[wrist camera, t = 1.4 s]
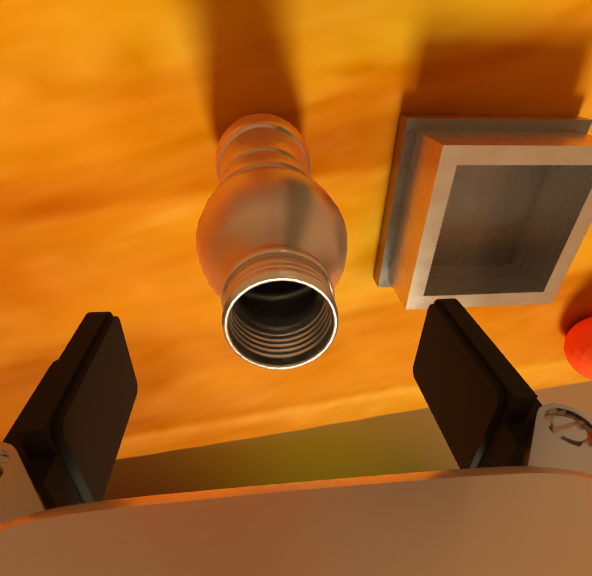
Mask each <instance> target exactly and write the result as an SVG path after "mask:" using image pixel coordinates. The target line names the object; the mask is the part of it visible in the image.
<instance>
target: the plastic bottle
mask: <svg viewBox="0 0 592 576" xmlns="http://www.w3.org/2000/svg"><path fill="white" fill-rule="evenodd" d="M216 169H217V175H218V180H219V183H220V184H219V186H218V187H217V189H216V190H215V191H214V193H213V194H212V195H211V197H210V198H209V199H208V201H207V204H206V206H205V208H204V210H203V213H202V215H201V217H200V219H199V223H198V228H197V233H196V248H197V253H198V257H199V261H200V264H201V267H202V270H203V272H204V274H205V276H206V278H207V281H208V283H209V284H210V286H211V287H212V288H213V290H214V291H215V292H216V294H217V295H218V296H219V297H220V298H222V307H223V314H222V326H223V331H224V335H225V338H226V340H227V342H228V344H229V346H230V347H231V349H232V350H233V351H234V352H235V353H236V354H237V355H238V356H239V357H241V358H242V359H243V360H245V361H247V362H249V363H250V364H253V365H255V366H258V367H261V368H267V369H275V370H284V369H292V368H296V367H300V366H303V365H305V364H308V363H310V362H312V361H313V360H315V359H317V358H318V357H320V356H321V355H322V354H323V353H324V352H325V351H326V350H327V349H328V348H329V346H330V345H331V344H332V342H333V340H334V338H335V336H336V333H337V329H338V311H337V307H336V303H335V300H334V288H335V287H336V285H337V284H338V282H339V280H340V278H341V275H342V273H343V270H344V266H345V261H346V254H347V232H346V227H345V223H344V220H343V218H342V215H341V213H340V211H339V209H338V207H337V206H336V205H335V203H334V202H333V200H332V199H331V198H330V196H329V195H328V193H327V192H326V191H325V190H324V189H323V188H322V187H321V186H320V185H319V184H318V183H317V182H316V181H314V180H313V179H312V178H311V164H310V155H309V151H308V147H307V145H306V143H305V140H304V138H303V137H302V136H301V134H300V133H299V131H298V130H297V129H296V128H295V127H294V126H293V125H292V124H291V123H289V122H288V121H286V120H285V119H283V118H281V117H278V116H276V115H273V114H267V113H253V114H249V115H246V116H243V117H241V118H239V119H238V120H236V121H234V122H233V123H232V124H231V125H230V126H229V127H228V128H227V129H226V130H225V132H224V133H223V135H222V136H221V138H220V141H219V143H218V146H217V151H216Z"/></svg>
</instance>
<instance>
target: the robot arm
mask: <svg viewBox="0 0 592 576" xmlns="http://www.w3.org/2000/svg"><path fill="white" fill-rule="evenodd" d="M413 374H414V378H415V380H416V382H417V384H418V386H419V388H420V390H421V392H422V394H423V396H424V398H425V400H426V402H427V404H428V406H429V408H430V410H431V412H432V414H433V416H434V417H435V420H436V422H437V424H438V426H439V428H440V430H441V432H442V434H443V436H444V438H445V440H446V442H447V444H448V446H449V448H450V450H451V452H452V454H453V455H454V458H455V460H456V461H457V463H458V466H459V468H460V469H456V470H441V471H429V472H417V473H404V474H392V475H380V476H367V477H355V478H343V479H332V480H321V481H308V482H297V483H286V484H274V485H263V486H251V487H240V488H230V489H218V490H207V491H196V492H187V493H186V492H185V493H175V494H165V495H153V496H144V497H136V498H126V499H116V500H108V501H102V499H103V496H104V493H105V490H106V487H107V484H108V481H109V478H110V475H111V472H112V469H113V465H114V463H115V460H116V456H117V453H118V450H119V447H120V444H121V441H122V438H123V435H124V432H125V429H126V426H127V423H128V420H129V417H130V414H131V411H132V407H133V404H134V401H135V398H136V395H137V381H136V377H135V373H134V370H133V366H132V362H131V359H130V355H129V352H128V348H127V344H126V341H125V337H124V333H123V330H122V326H121V323H120V320H119V318H118V317H117V316H113V315H112V313H111V312H89V313H87V314H86V316H85V317H84V319H83V320H82V322H81V324H80V325H79V327H78V329H77V330H76V332H75V333H74V335H73V337H72V338H71V340H70V342H69V343H68V345H67V346H66V348H65V350H64V351H63V353H62V355H61V356H60V358H59V359H58V360H56V361H54V362H53V363H52V365H51V366H50V367H49V369H48V370H47V372H46V374H45V375H44V377H43V378H42V380H41V382H40V383H39V385H38V386H37V388H36V390H35V391H34V393H33V394H32V396H31V398H30V399H29V401H28V402H27V404H26V405H25V407H24V409H23V410H22V412H21V413H20V415H19V417H18V418H17V420H16V421H15V423H14V425H13V426H12V428H11V429H10V431H9V433H8V434H7V436H6V437H5V439H4V440H3V442H0V576H592V419H591V418H590V417H588V416H587V415H586V414H584V413H583V412H581V411H579V410H577V409H574V408H572V407H569V406H566V405H563V404H556V403H550V404H545V405H543V406H542V404H541V403H540V402H539V401H538V400H537V395H536V394H535V393H534V391H533V390H532V389H531V388H530V387H529V385H528V384H527V383H526V382H525V380H524V379H523V378H522V377H521V376H520V374H519V373H518V372H517V371H516V370H515V368H514V367H513V366H512V365H511V364H510V362H509V361H508V360H507V359H506V358H505V356H504V355H503V354H502V353H501V352H500V350H499V349H498V348H497V347H496V346H495V344H494V343H493V342H492V341H491V340H490V338H489V337H488V336H487V335H486V334H485V332H484V331H483V330H482V329H481V328H480V326H479V325H478V324H477V323H476V321H475V320H474V319H473V318H472V317H471V315H470V314H469V313H468V312H467V311H466V309H465V308H464V307H463V306H462V305H461V303H460V302H459V301H458V300H457V299H455V298H450V299H436V300H435V301H434V304H430V305H429V307H428V311H427V315H426V319H425V323H424V326H423V330H422V334H421V338H420V342H419V346H418V350H417V354H416V358H415V362H414V366H413Z"/></svg>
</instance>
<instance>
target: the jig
mask: <svg viewBox="0 0 592 576" xmlns="http://www.w3.org/2000/svg"><path fill="white" fill-rule="evenodd" d="M591 123H592V120H590V119H586V118H582V117H575V116H498V115H421V114H400V119H399V125H398V131H397V137H396V143H395V149H394V156H393V162H392V168H391V174H390V180H389V186H388V192H387V198H386V205H385V211H384V217H383V223H382V229H381V235H380V241H379V247H378V254H377V260H376V266H375V272H374V280H375V282H376V284H377V286H378V287H393V289H394V290H395V292H396V294H397V296H398V297H399V299H400V301H401V303H402V304H403V306H404V308H405V309H428V307H429V305H430V304H434V301H435V300H436V299H450V298H455V299H457V300H458V301H459V302H460V303H461V305H462V306H463V307H479V306H504V305H529V304H552V302H553V300H554V298H555V296H556V293H557V291H558V289H559V287H560V285H561V283H562V281H563V279H564V277H565V275H566V273H567V271H568V269H569V267H570V265H571V263H572V261H573V259H574V257H575V254H576V252H577V250H578V248H579V246H580V244H581V242H582V240H583V238H584V236H585V234H586V232H587V230H588V228H589V226H590V224H591V222H592V136H591V135H588V134H587V132H588V130H589V128H590V125H591Z"/></svg>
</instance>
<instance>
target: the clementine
mask: <svg viewBox="0 0 592 576" xmlns="http://www.w3.org/2000/svg"><path fill="white" fill-rule="evenodd" d="M564 351H565V354H566V358H567V360H568V362H569V363H570V364H571V366H572V367H573V368H574V369H575V370H576V371H577V372H578V373H579V374H581V375H582V376H584V377H586V378H588V379H590V380H592V317H590V318H587V319H584V320H582V321H580V322H578V323H577V324H575V325H574V326H573V327H572V328H571V329H570V331H569V332H568V333H567V335H566V337H565V343H564Z"/></svg>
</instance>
